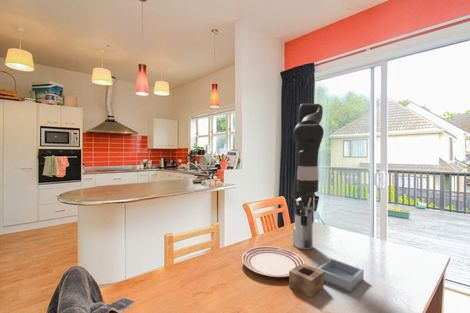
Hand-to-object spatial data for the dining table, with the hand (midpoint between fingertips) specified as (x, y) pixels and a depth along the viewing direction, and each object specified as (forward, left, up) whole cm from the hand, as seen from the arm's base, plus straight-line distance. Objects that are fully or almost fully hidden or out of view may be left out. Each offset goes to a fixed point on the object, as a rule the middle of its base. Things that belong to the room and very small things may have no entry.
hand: (306, 224), depth 86 cm
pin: (0, 0, -8) cm, 8 cm away
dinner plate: (-19, +4, -24) cm, 31 cm away
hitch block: (0, 0, -24) cm, 24 cm away
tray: (+6, +15, -24) cm, 29 cm away
